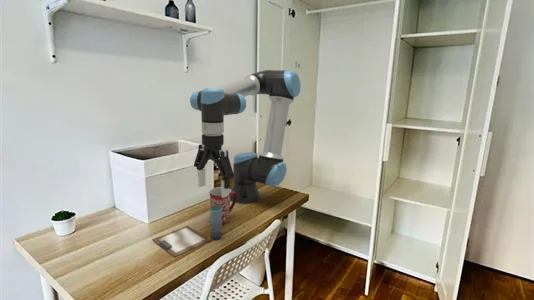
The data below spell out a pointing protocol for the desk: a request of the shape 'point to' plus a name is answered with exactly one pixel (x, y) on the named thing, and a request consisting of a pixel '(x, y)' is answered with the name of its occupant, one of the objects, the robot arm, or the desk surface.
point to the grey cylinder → (216, 222)
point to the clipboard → (181, 240)
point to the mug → (222, 202)
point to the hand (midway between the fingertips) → (213, 191)
